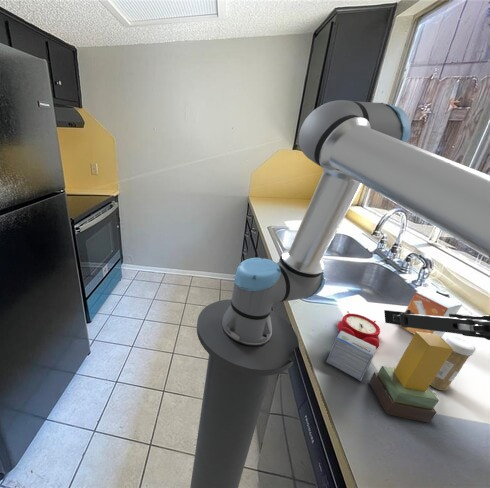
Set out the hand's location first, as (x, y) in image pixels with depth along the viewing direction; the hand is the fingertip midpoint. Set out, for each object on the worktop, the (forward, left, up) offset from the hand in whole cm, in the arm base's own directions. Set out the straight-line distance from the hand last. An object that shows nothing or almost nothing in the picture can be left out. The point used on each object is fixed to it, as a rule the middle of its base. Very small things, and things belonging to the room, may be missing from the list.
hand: (418, 318), depth 56 cm
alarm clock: (-14, -1, -19) cm, 24 cm away
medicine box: (-1, -9, -19) cm, 21 cm away
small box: (-22, +20, -19) cm, 35 cm away
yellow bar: (+6, -1, -13) cm, 14 cm away
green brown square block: (+6, -1, -19) cm, 20 cm away
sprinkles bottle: (-2, +12, -19) cm, 23 cm away
